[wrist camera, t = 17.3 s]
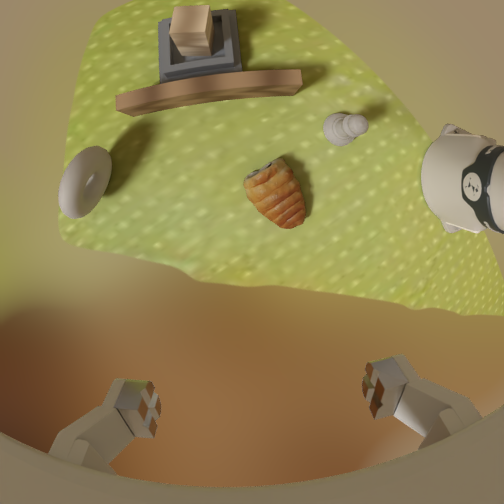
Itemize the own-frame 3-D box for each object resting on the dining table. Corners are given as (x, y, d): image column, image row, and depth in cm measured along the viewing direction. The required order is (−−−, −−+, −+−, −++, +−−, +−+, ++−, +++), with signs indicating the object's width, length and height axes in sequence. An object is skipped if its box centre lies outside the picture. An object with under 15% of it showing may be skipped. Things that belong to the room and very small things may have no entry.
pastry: (315, 210, 39) (322, 216, 35) (275, 237, 40) (279, 245, 36) (278, 154, 36) (282, 153, 32) (237, 181, 37) (236, 184, 33)
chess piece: (335, 107, 34) (357, 95, 26) (360, 129, 35) (386, 123, 27) (315, 130, 35) (334, 123, 27) (341, 152, 36) (365, 152, 28)
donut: (106, 143, 34) (69, 141, 24) (124, 151, 35) (90, 150, 25) (83, 205, 36) (45, 219, 27) (100, 214, 37) (65, 231, 28)
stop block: (214, 32, 29) (209, 5, 21) (211, 56, 30) (204, 31, 23) (186, 32, 29) (174, 6, 21) (182, 56, 30) (168, 33, 22)
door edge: (291, 82, 33) (300, 69, 27) (293, 95, 33) (302, 84, 28) (132, 103, 32) (115, 95, 27) (133, 116, 33) (116, 110, 27)
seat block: (235, 12, 29) (235, 3, 26) (242, 75, 32) (242, 68, 29) (160, 24, 29) (154, 16, 26) (162, 87, 32) (156, 81, 29)
